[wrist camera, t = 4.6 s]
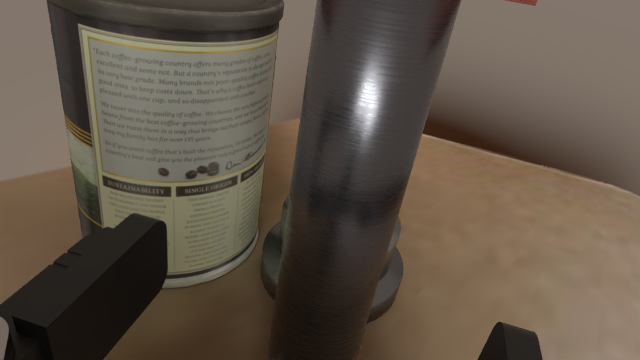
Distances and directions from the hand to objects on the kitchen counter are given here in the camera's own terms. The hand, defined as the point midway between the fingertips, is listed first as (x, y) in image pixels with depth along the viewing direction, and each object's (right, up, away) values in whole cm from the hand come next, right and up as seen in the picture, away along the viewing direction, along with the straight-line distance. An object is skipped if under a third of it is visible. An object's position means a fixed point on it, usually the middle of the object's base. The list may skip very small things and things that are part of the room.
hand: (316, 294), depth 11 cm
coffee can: (-9, -1, +17) cm, 19 cm away
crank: (+1, -2, +14) cm, 14 cm away
